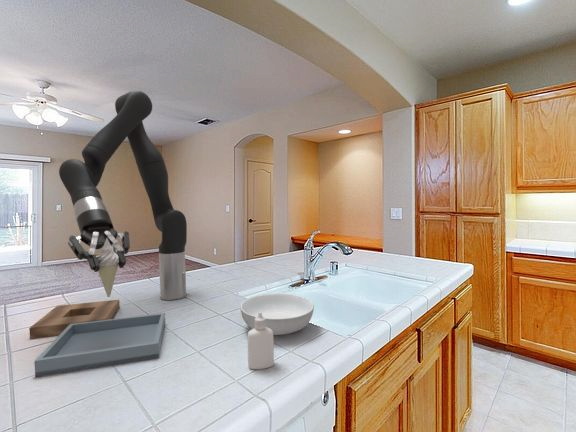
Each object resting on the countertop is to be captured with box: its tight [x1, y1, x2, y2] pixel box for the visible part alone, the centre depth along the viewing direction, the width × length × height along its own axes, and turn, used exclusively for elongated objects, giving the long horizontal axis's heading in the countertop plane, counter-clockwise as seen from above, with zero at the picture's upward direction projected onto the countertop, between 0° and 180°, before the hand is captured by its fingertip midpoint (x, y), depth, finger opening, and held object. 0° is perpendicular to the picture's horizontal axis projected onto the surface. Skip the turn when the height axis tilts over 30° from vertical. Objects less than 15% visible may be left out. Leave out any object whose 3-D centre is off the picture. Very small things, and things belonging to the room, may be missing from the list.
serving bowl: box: [240, 293, 315, 336], centre depth 87 cm, size 21×21×7 cm
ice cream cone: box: [96, 238, 119, 298], centre depth 76 cm, size 5×5×15 cm
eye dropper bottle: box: [247, 312, 275, 370], centre depth 67 cm, size 4×6×12 cm
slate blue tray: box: [33, 312, 166, 378], centre depth 77 cm, size 24×20×4 cm
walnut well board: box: [29, 299, 121, 340], centre depth 93 cm, size 18×18×3 cm
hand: (110, 267), depth 75 cm, fingers closed on ice cream cone, 5 cm apart
